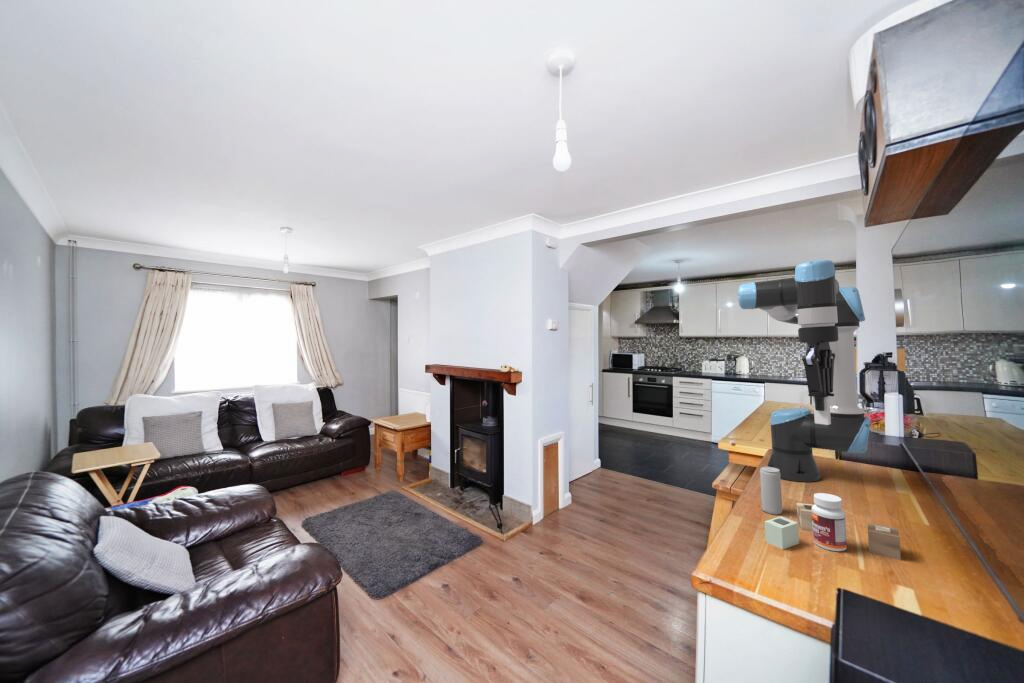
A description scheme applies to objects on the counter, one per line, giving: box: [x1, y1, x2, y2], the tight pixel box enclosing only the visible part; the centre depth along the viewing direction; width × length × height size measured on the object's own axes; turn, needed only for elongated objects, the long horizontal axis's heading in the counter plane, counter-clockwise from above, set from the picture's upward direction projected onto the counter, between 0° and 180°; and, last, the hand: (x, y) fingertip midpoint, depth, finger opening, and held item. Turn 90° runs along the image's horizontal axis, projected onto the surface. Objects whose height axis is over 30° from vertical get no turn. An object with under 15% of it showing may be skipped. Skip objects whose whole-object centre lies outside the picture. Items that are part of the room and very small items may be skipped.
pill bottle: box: [811, 492, 848, 552], centre depth 90 cm, size 6×6×11 cm
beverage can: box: [759, 466, 783, 516], centre depth 108 cm, size 5×5×12 cm
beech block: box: [796, 502, 814, 532], centre depth 99 cm, size 5×5×5 cm
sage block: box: [764, 515, 800, 550], centre depth 92 cm, size 6×4×5 cm, turn 112°
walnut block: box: [867, 522, 902, 561], centre depth 86 cm, size 5×5×5 cm
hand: (822, 423), depth 92 cm, fingers closed
